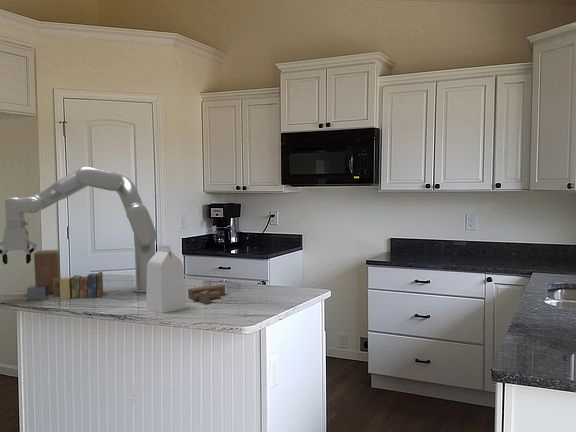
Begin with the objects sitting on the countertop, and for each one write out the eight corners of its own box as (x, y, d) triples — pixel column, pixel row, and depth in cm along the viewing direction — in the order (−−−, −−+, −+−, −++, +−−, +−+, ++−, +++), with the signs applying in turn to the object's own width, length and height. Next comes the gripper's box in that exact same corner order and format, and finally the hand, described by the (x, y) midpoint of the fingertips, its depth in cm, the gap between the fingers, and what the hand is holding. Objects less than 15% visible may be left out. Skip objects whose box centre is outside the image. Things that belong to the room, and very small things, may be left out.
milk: (146, 308, 223) (143, 245, 222) (170, 303, 231) (168, 242, 230) (161, 313, 215) (159, 247, 213) (186, 307, 223) (184, 244, 221)
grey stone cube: (49, 297, 250) (48, 284, 250) (45, 300, 244) (45, 287, 244) (31, 298, 249) (30, 285, 248) (27, 301, 243) (27, 288, 242)
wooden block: (35, 295, 257) (33, 252, 255) (39, 291, 266) (37, 250, 265) (58, 293, 259) (56, 251, 258) (61, 289, 269) (59, 249, 268)
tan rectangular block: (72, 296, 252) (71, 276, 252) (69, 298, 246) (68, 279, 246) (63, 296, 251) (62, 277, 251) (60, 299, 245) (59, 279, 245)
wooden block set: (185, 286, 242) (222, 282, 252) (186, 299, 242) (222, 294, 252) (202, 292, 227) (240, 287, 237) (202, 305, 228) (240, 300, 238)
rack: (103, 292, 260) (102, 271, 259) (99, 297, 249) (99, 275, 248) (53, 295, 255) (52, 273, 255) (48, 300, 244) (47, 277, 244)
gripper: (38, 223, 248) (39, 261, 249) (-4, 224, 245) (-2, 263, 246) (34, 224, 241) (35, 263, 242) (-9, 226, 237) (-7, 265, 238)
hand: (16, 263), depth 244 cm, fingers open, 8 cm apart
